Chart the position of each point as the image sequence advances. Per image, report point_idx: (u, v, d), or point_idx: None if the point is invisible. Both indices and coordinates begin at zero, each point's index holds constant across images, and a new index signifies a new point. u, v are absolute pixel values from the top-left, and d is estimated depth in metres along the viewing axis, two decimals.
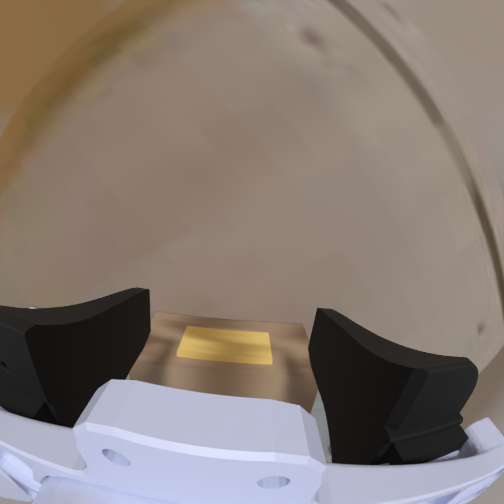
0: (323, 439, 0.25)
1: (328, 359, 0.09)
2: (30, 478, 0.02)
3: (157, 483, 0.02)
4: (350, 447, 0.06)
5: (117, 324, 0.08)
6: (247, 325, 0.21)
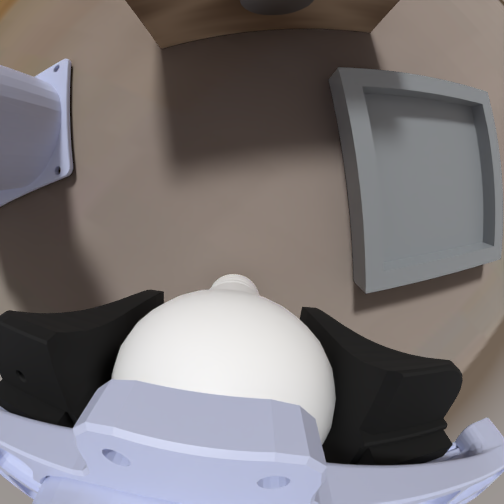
0: (473, 212, 0.13)
1: None
2: (30, 478, 0.02)
3: (157, 484, 0.02)
4: (329, 449, 0.06)
5: None
6: None
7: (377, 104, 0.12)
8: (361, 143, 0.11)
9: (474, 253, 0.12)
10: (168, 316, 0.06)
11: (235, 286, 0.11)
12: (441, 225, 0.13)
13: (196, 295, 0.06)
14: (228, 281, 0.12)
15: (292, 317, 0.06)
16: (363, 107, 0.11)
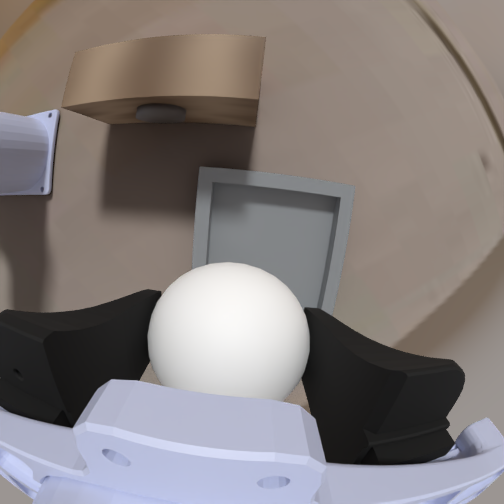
0: (308, 282, 0.21)
1: (313, 359, 0.09)
2: (30, 478, 0.02)
3: (157, 483, 0.02)
4: (332, 449, 0.06)
5: (131, 327, 0.08)
6: None
7: (231, 191, 0.20)
8: (199, 222, 0.19)
9: None
10: (196, 274, 0.09)
11: None
12: None
13: None
14: None
15: (276, 278, 0.10)
16: (208, 197, 0.19)
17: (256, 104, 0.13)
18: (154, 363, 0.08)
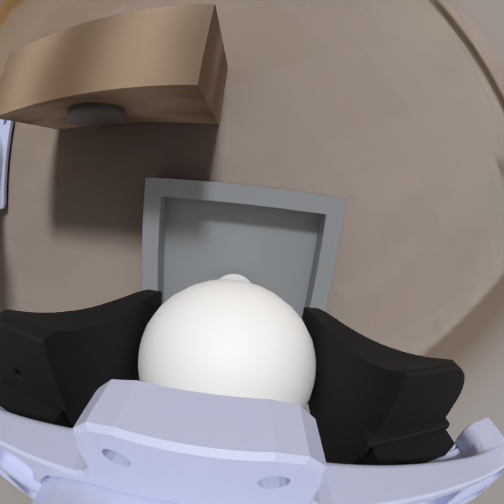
0: None
1: None
2: (30, 478, 0.02)
3: (157, 483, 0.02)
4: (332, 449, 0.06)
5: (132, 327, 0.08)
6: None
7: (187, 207, 0.16)
8: (147, 246, 0.15)
9: None
10: (188, 296, 0.08)
11: None
12: None
13: (208, 282, 0.09)
14: (229, 279, 0.14)
15: (280, 299, 0.09)
16: (156, 216, 0.15)
17: (200, 93, 0.09)
18: None
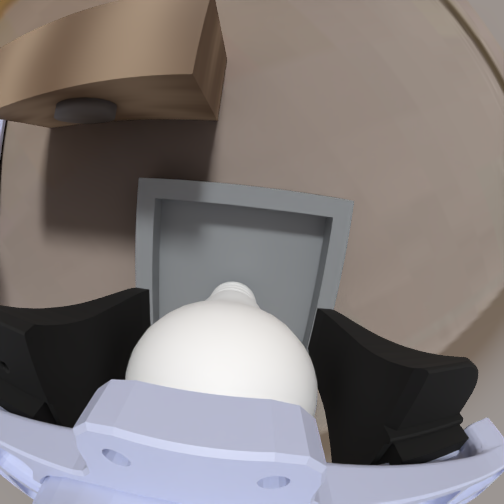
0: (287, 326, 0.16)
1: (328, 359, 0.09)
2: (30, 478, 0.02)
3: (157, 483, 0.02)
4: (350, 447, 0.06)
5: (117, 324, 0.08)
6: None
7: (183, 209, 0.14)
8: (141, 251, 0.14)
9: None
10: (175, 324, 0.07)
11: (233, 294, 0.12)
12: None
13: (198, 306, 0.07)
14: (227, 289, 0.13)
15: (279, 325, 0.08)
16: (150, 219, 0.13)
17: (195, 83, 0.08)
18: None
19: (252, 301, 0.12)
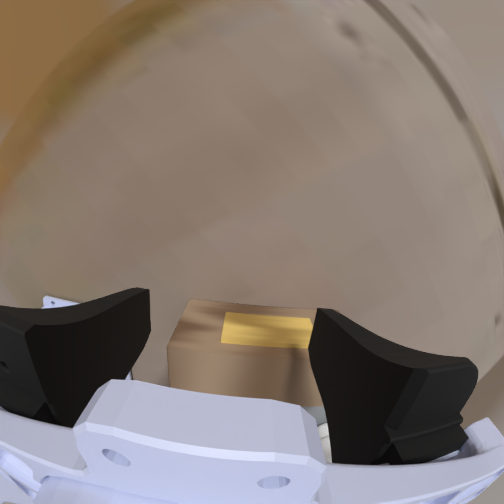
0: None
1: (328, 359, 0.09)
2: (30, 478, 0.02)
3: (157, 483, 0.02)
4: (350, 447, 0.06)
5: (117, 324, 0.08)
6: (286, 311, 0.21)
7: None
8: None
9: None
10: None
11: None
12: None
13: None
14: None
15: None
16: None
17: None
18: None
19: None
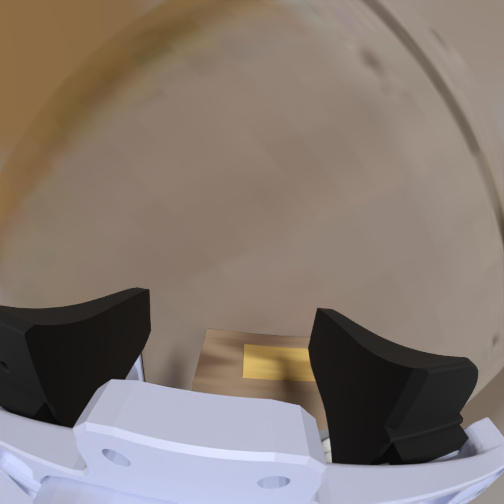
0: None
1: (328, 359, 0.09)
2: (30, 478, 0.02)
3: (157, 483, 0.02)
4: (350, 447, 0.06)
5: (117, 324, 0.08)
6: (299, 341, 0.21)
7: None
8: None
9: None
10: None
11: None
12: None
13: None
14: None
15: None
16: None
17: None
18: None
19: None
